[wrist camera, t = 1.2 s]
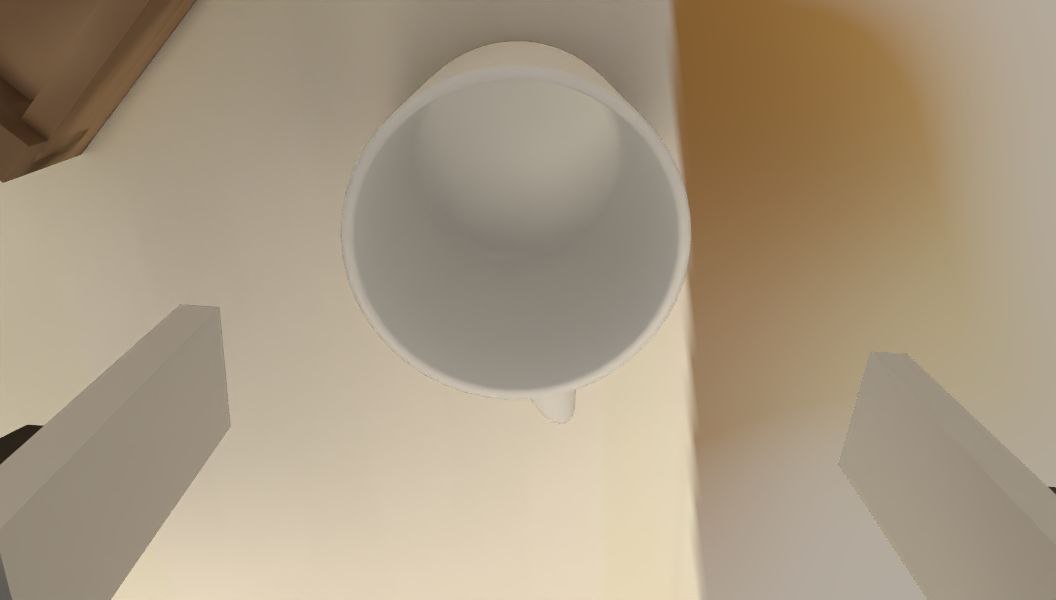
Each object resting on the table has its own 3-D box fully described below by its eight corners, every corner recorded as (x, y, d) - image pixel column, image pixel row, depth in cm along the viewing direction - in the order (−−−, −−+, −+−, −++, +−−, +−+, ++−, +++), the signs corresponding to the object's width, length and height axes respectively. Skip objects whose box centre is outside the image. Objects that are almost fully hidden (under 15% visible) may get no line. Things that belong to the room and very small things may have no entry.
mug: (453, 356, 31) (422, 524, 21) (377, 64, 27) (292, 106, 17) (655, 319, 31) (720, 476, 21) (613, 16, 26) (670, 29, 16)
